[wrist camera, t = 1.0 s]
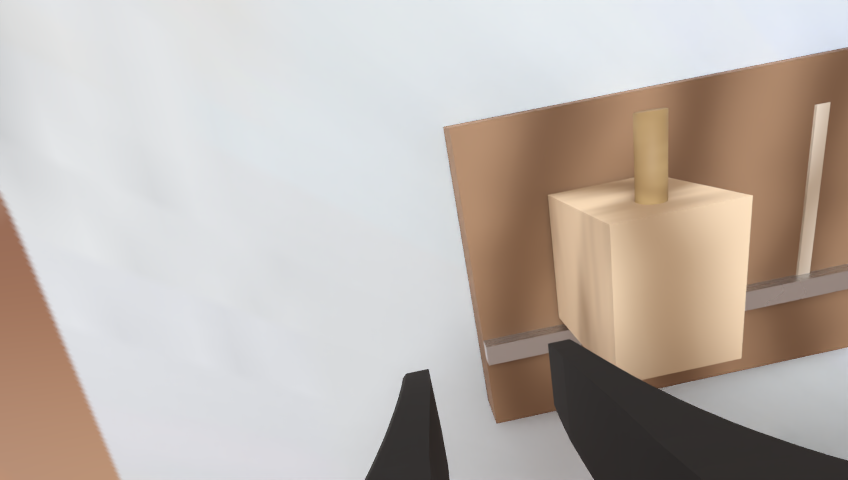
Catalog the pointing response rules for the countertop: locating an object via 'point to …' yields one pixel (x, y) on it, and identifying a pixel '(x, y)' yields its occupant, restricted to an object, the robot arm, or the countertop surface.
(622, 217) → the beige peg block
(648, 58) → the countertop surface
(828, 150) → the walnut board
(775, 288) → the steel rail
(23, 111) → the countertop surface
